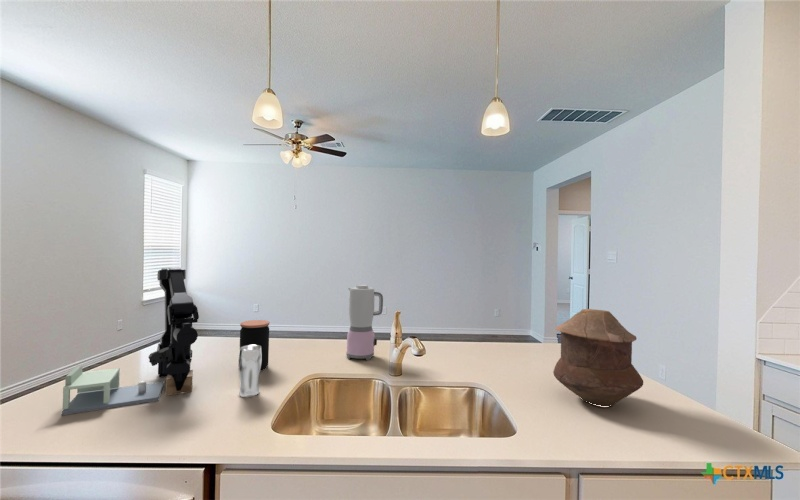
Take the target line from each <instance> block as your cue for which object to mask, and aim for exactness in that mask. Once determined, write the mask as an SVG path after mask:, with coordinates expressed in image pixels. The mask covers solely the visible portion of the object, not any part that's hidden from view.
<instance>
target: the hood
mask: <svg viewBox="0 0 800 500" xmlns="http://www.w3.org/2000/svg"><path fill="white" fill-rule="evenodd" d="M83 368H84V365H83V364H80V365H76V366H75V367H74V368H73V369H72V370H71V371H70V372H68V374H66V376H65V378H64V379H65V384H64V386H63V389H62V390H63V391H62V410H64V409H68V408H69V407H70V402H71V390H77V391H76V393H77V394H78V393H82V392H89V391H97V390H104V402H103V403H109V402H110V389H112V388H119V387H120V374H121V373H120V367H116V368H108V369H107V368H106V369H98V370H91V371H90V370H89V371H83Z"/></svg>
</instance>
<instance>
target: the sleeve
mask: <svg viewBox="0 0 800 500" xmlns="http://www.w3.org/2000/svg"><path fill="white" fill-rule="evenodd" d="M193 372H194V369H190V372H189V373H188V376H187V378H186V380H185V382H184V384H183V386H182V388H181V390H180V391H177V390H176V386H175V382H174V378H173V376H171V375H167V376H166V377H165V396H171V395H177V394H184V393H185V394H186V393H191V392H192V391H193V378H194V376H193V375H194V374H193Z"/></svg>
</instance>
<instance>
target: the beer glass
mask: <svg viewBox="0 0 800 500" xmlns="http://www.w3.org/2000/svg"><path fill="white" fill-rule="evenodd" d="M261 362H262V353H261V346H259V345H247V346H242V347H240V346H239V352H238V363H237V364H238V373H239V378H240V379H239V380H240V386H239V391H238V396H239V397H240V396H241V397H240V398H252V396H253V397H256V396H257V394H258V395H259V394H260V387H259V386H260V385H259V378H260V375H261V374H260V373H261V371H260V369H261ZM255 395H256V396H255Z"/></svg>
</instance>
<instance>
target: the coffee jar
mask: <svg viewBox="0 0 800 500" xmlns="http://www.w3.org/2000/svg"><path fill="white" fill-rule="evenodd" d="M239 325H240V327H241V328H240V330H239V348H240V347H242V346H247V345H259V346H261V353H262V362H261V369H260V372H262V371H264V370H266V369H267V368H268V366H269V353H270V352H269V350H270V347H269V346H270V327H269V326H270V321H269V320H266V319H253V320H251V319H250V320H244V321H241V322H240V323H239Z"/></svg>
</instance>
